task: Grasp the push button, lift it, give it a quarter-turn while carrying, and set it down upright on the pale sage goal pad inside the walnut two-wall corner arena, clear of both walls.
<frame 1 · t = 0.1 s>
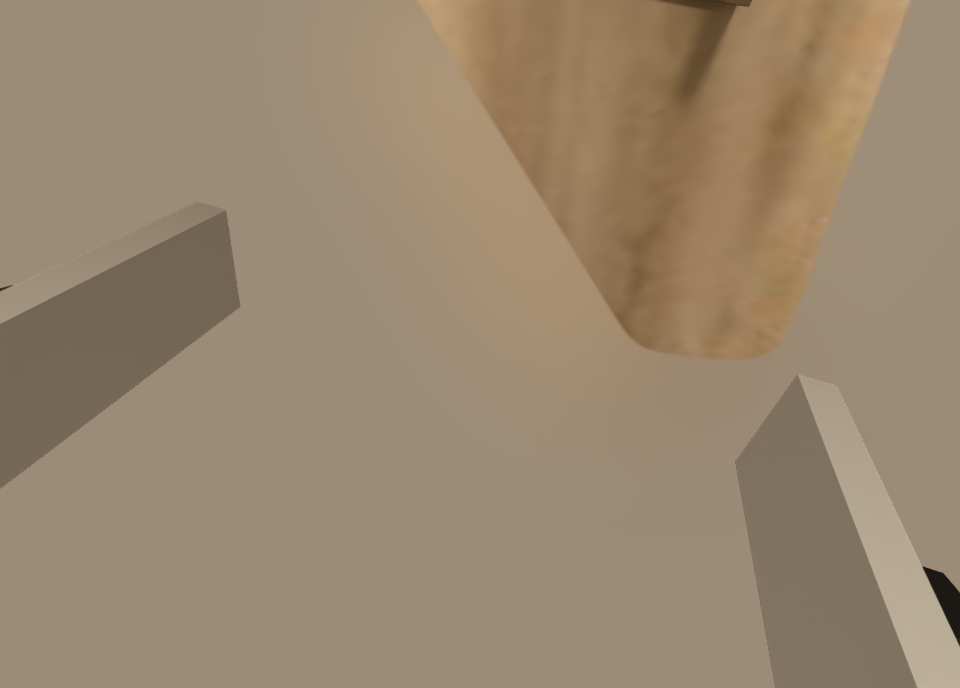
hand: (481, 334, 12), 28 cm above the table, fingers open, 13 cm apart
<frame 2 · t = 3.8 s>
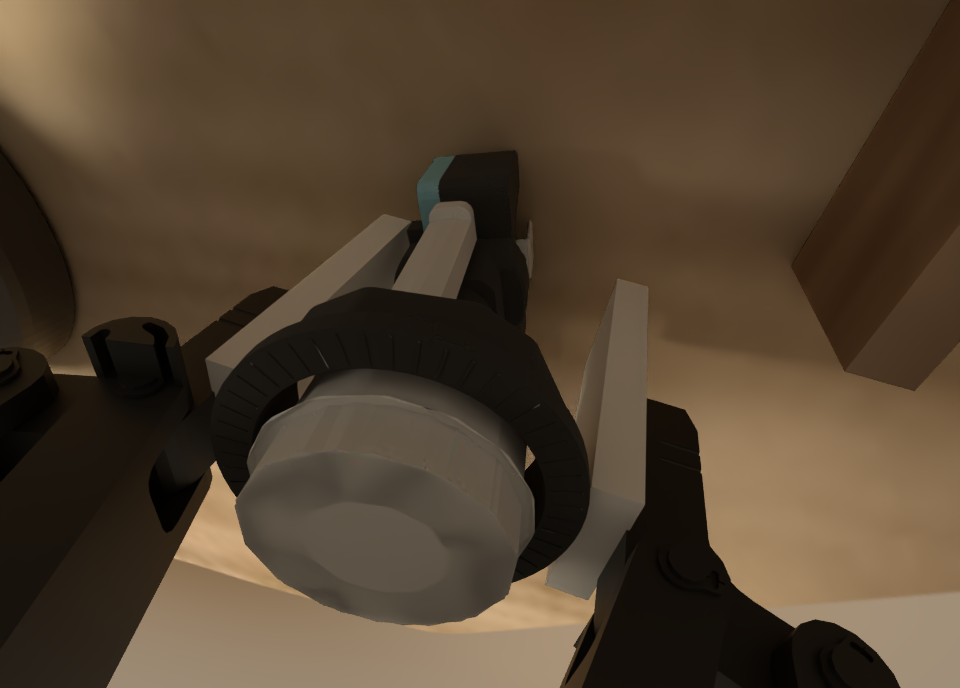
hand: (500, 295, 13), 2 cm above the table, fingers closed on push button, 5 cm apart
push button: (483, 254, 15), on the table, touching gripper
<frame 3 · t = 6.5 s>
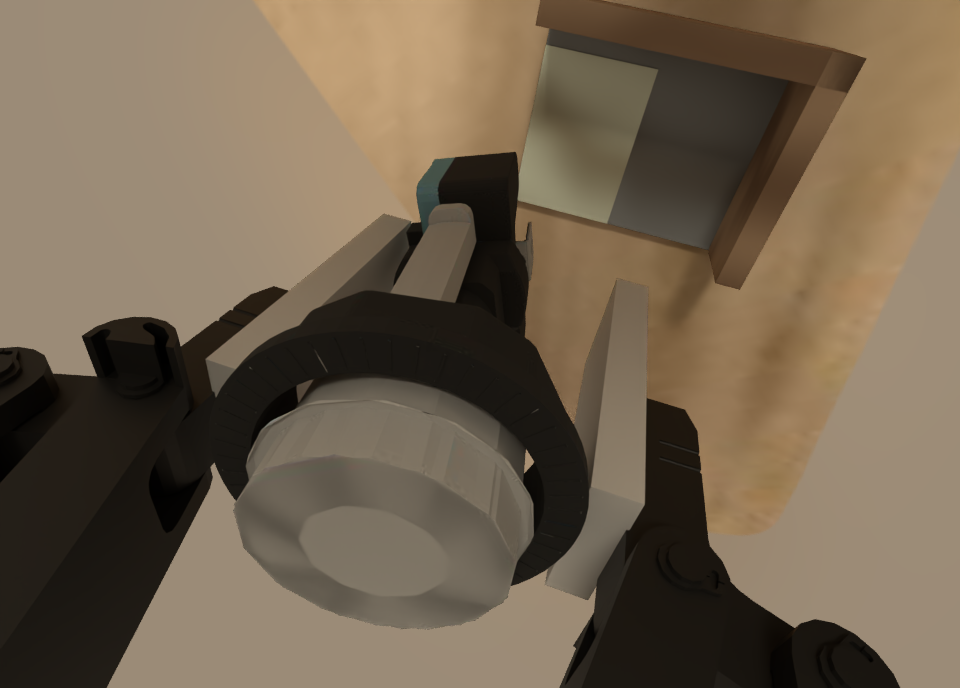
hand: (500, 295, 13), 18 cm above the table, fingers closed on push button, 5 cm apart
push button: (483, 256, 15), point 16 cm above the table, touching gripper
arena: (625, 129, 27), on the table
when the fingers open (4 cm above the table, at t = 9.6 s): push button drops 2 cm, resting on arena.
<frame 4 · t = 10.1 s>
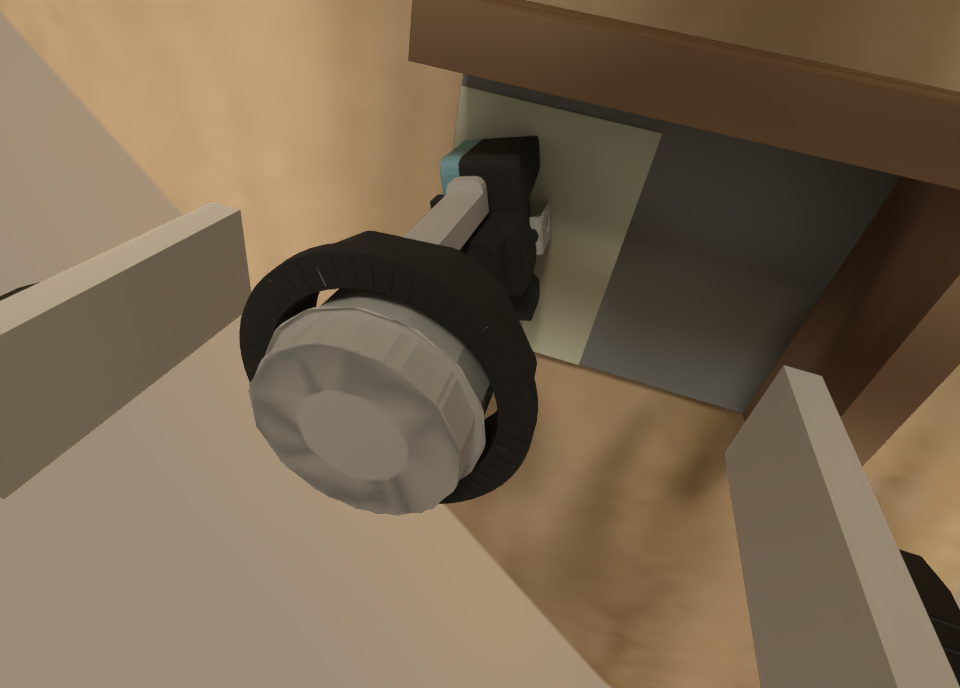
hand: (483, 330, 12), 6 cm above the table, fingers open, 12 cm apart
push button: (507, 233, 16), resting on arena
arena: (606, 226, 16), on the table
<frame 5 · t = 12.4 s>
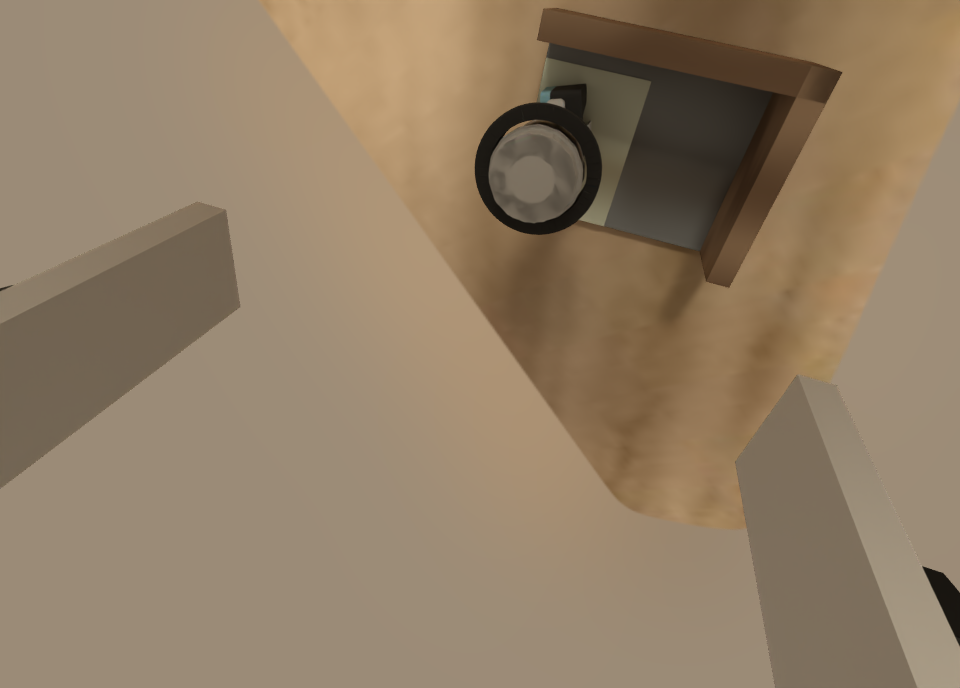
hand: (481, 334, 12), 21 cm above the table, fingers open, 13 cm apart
push button: (565, 142, 29), resting on arena
arena: (621, 137, 28), on the table
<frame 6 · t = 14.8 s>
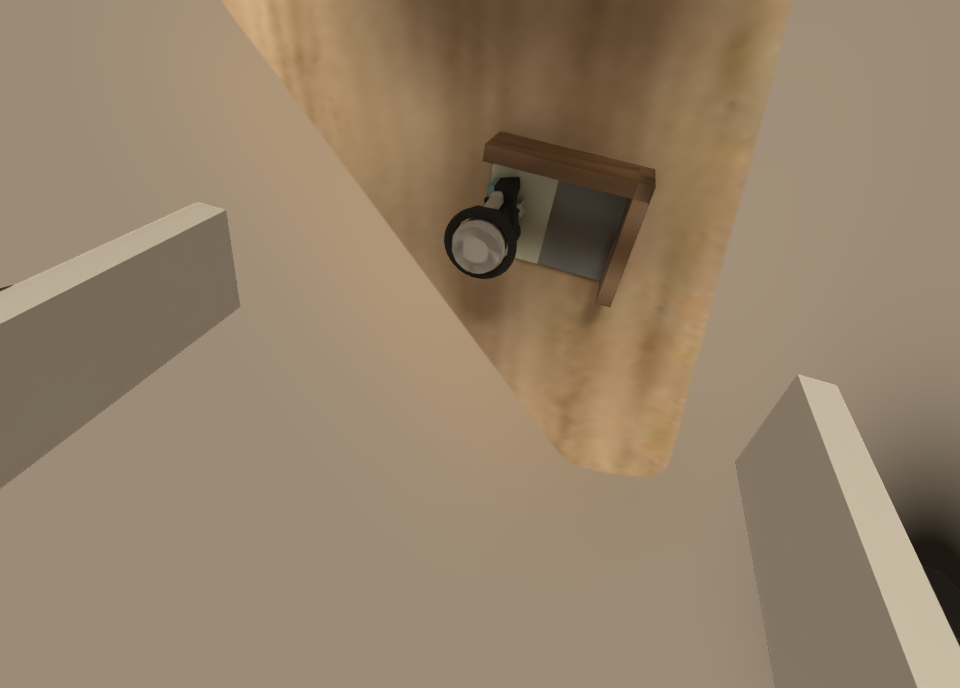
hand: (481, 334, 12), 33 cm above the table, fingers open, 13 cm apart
push button: (509, 210, 44), resting on arena
arena: (544, 208, 43), on the table
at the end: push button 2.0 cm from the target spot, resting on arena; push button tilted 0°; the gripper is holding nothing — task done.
